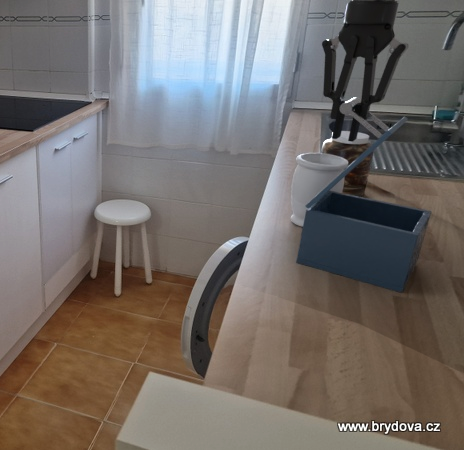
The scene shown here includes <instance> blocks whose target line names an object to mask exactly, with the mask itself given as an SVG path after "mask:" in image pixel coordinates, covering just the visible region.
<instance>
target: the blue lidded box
mask: <svg viewBox="0 0 464 450" xmlns="http://www.w3.org/2000/svg"><path fill="white" fill-rule="evenodd" d="M431 215H432V210H428V209H422V208H417V207H412V206H407V205H403V204H397V203H393V202H389V201H388V202H387V201H383V200H378V199H372V198H369V197H363V196H361V197H359V196H354V195H349V194H344V193H339V192H334V191H328V192H327V193H326V194H325V195H324V196H322V197H321V198H320V199H319V200H318V201H317V202H316V203H315V204H313V205H312V206H311V207H310V208H309V209H307V210H306V214H305V219H304V224H303V227H302V230H301V234H300V235H301V236H300V240H299V245H298V251H297V257H296V262H295V263H296V264H299V265H303V266H306V267H310V268H314V269H317V270H320V271H325V272H328V273H331V274H334V275H337V276H341V277H345V278H347V279H352V280H356V281H359V282H363V283H366V284H370V285H372V286H376V287H380V288H383V289H386V290H390V291H394V292H397V293H401V294H402V293H403V292H404V290H405V287H406V286H407V284H408V282H409V280H410V277H411V275H412V274H413V272H414V270H415V267H416V266H417V264H418V260H419V256H420V254H421V249H422V246H423V242H424V239H425V236H426V232H427V229H428V225H429V222H430V218H431Z"/></svg>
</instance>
